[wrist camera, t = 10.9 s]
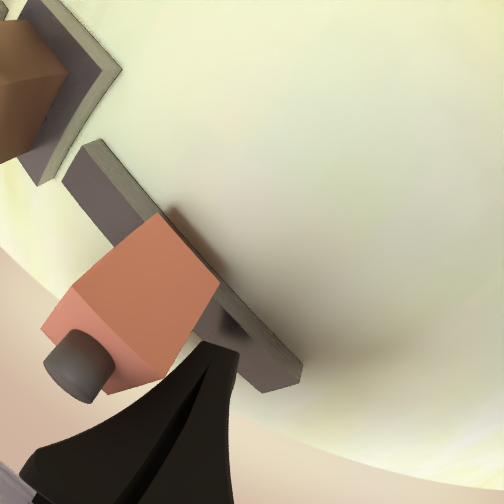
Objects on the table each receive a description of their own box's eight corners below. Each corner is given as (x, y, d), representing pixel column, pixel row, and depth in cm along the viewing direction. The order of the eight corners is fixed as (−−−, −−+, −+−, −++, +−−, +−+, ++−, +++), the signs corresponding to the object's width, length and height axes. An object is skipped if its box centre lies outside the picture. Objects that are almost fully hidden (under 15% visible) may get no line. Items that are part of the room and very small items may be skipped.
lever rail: (303, 364, 13) (299, 383, 12) (267, 376, 14) (262, 393, 13) (100, 138, 10) (82, 145, 9) (78, 173, 11) (61, 181, 10)
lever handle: (220, 282, 10) (141, 417, 6) (160, 318, 12) (89, 422, 8) (157, 211, 9) (37, 318, 5) (108, 262, 11) (17, 353, 7)
